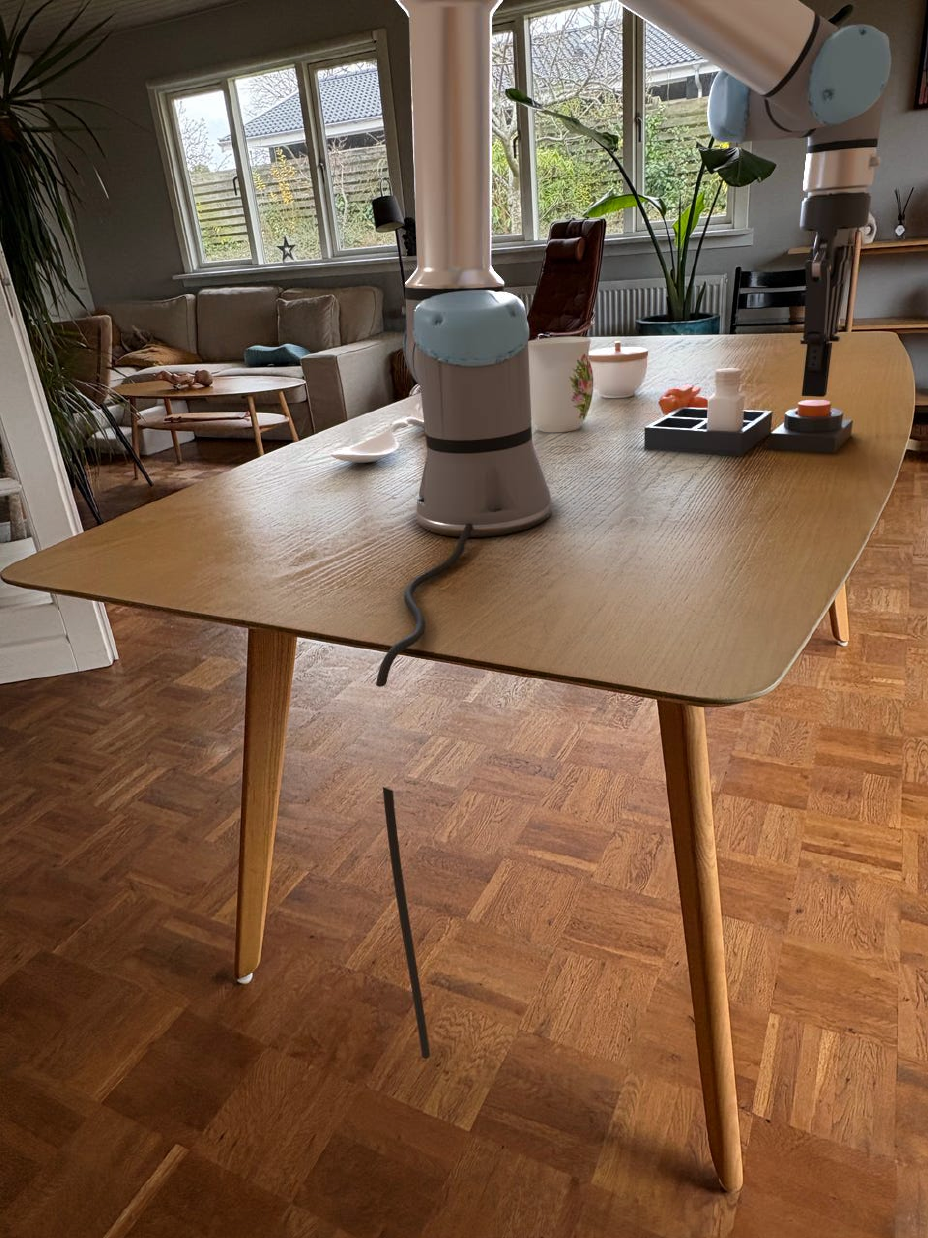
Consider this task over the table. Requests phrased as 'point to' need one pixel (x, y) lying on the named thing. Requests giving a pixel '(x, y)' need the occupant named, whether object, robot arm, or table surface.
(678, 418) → the rack
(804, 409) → the button
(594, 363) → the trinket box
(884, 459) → the table surface
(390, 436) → the spoon
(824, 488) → the table surface
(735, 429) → the pepper shaker
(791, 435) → the control block
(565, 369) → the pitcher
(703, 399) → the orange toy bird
